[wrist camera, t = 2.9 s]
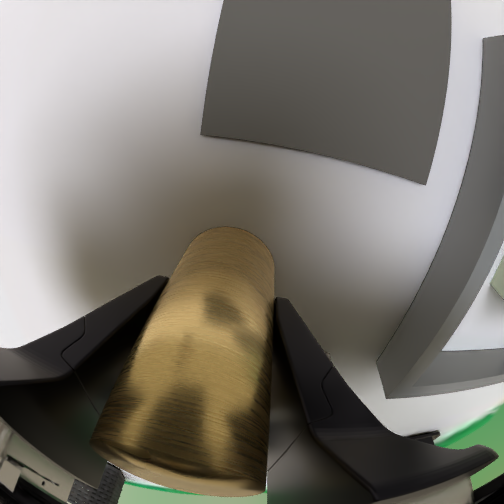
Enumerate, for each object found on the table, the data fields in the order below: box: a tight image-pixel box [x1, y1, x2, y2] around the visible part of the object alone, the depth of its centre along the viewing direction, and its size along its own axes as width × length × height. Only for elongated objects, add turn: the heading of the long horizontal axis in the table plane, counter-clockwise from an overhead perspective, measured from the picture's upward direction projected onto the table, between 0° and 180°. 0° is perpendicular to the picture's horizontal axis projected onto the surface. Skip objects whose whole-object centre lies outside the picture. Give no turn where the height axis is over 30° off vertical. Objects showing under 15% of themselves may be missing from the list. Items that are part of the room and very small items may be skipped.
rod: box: [89, 227, 275, 497], centre depth 7 cm, size 4×4×8 cm
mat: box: [200, 0, 451, 185], centre depth 6 cm, size 11×8×1 cm
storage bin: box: [67, 464, 125, 504], centre depth 32 cm, size 29×19×13 cm
